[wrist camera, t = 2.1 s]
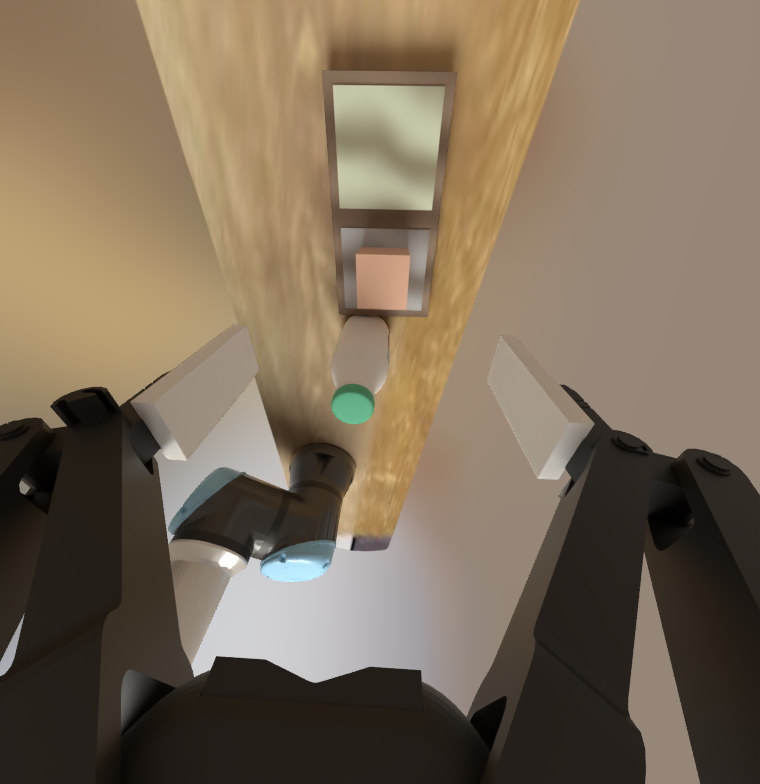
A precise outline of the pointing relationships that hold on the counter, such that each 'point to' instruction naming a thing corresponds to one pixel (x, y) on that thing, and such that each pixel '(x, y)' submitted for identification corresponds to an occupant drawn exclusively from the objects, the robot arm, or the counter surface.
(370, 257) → the terracotta block
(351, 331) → the milk bottle
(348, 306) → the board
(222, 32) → the counter surface
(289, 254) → the counter surface
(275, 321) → the counter surface
